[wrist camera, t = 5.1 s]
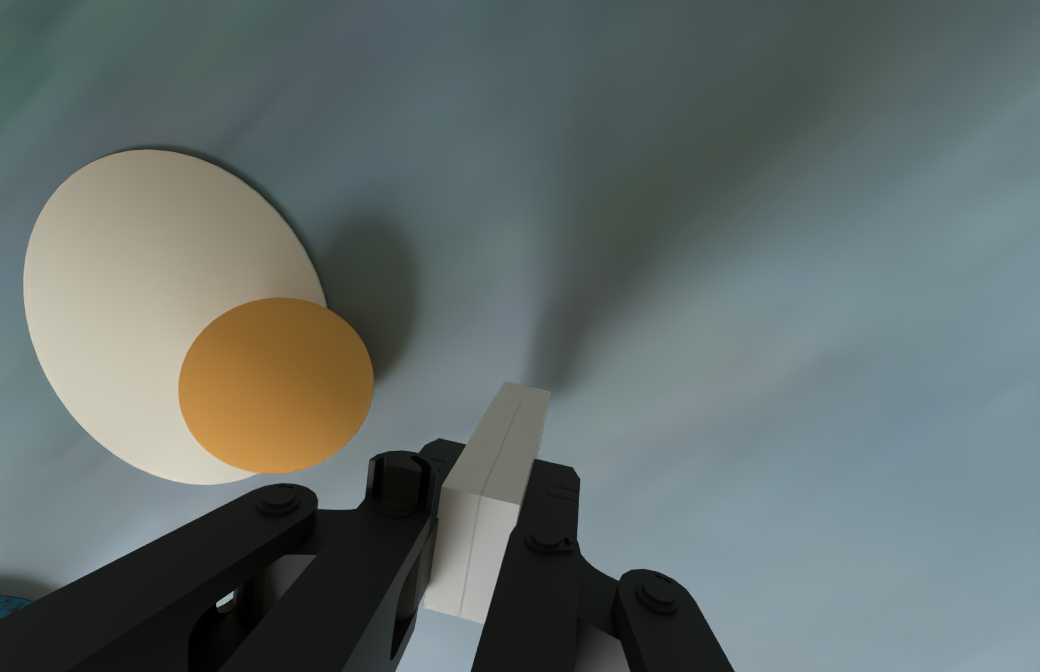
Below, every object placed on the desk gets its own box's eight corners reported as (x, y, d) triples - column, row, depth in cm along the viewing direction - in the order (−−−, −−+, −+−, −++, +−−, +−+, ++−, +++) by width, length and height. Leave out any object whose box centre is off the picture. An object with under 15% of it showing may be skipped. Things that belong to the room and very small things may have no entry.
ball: (155, 279, 15) (331, 282, 19) (156, 445, 16) (320, 414, 20) (217, 328, 11) (416, 319, 15) (211, 536, 12) (396, 477, 16)
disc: (347, 182, 17) (344, 181, 16) (319, 514, 20) (316, 517, 19) (18, 124, 18) (11, 123, 18) (39, 443, 21) (33, 445, 21)
